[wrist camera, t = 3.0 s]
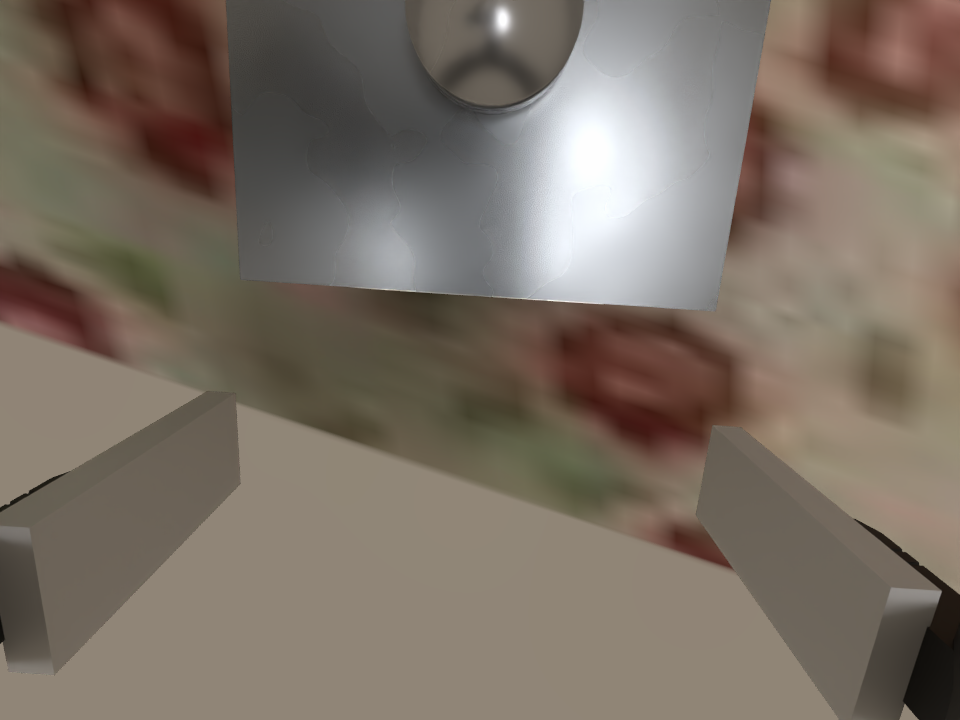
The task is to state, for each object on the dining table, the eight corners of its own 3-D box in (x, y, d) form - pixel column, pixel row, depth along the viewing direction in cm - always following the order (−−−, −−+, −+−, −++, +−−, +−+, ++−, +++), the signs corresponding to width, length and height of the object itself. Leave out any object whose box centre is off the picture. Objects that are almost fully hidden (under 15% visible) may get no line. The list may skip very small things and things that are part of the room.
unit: (345, -43, 17) (75, -535, 6) (662, -22, 16) (981, -483, 6) (346, 276, 19) (157, 344, 8) (620, 295, 19) (788, 386, 8)
